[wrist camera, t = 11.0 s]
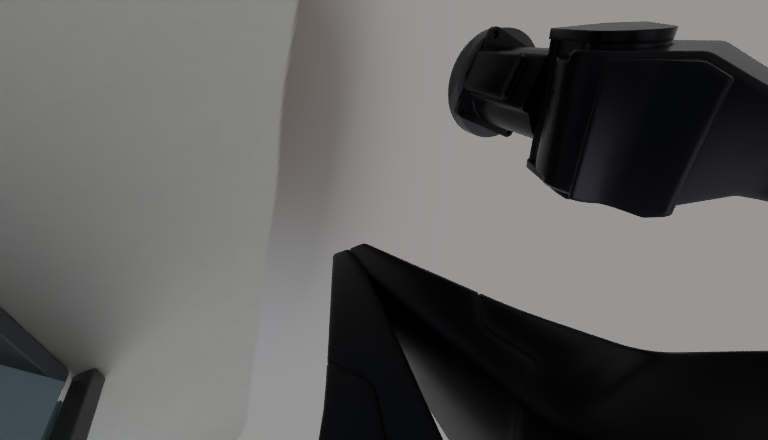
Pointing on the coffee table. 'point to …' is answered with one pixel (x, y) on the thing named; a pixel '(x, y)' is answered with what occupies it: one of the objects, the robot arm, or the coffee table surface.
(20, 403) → the shower door
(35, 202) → the coffee table surface
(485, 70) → the robot arm
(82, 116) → the coffee table surface
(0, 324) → the shower frame
